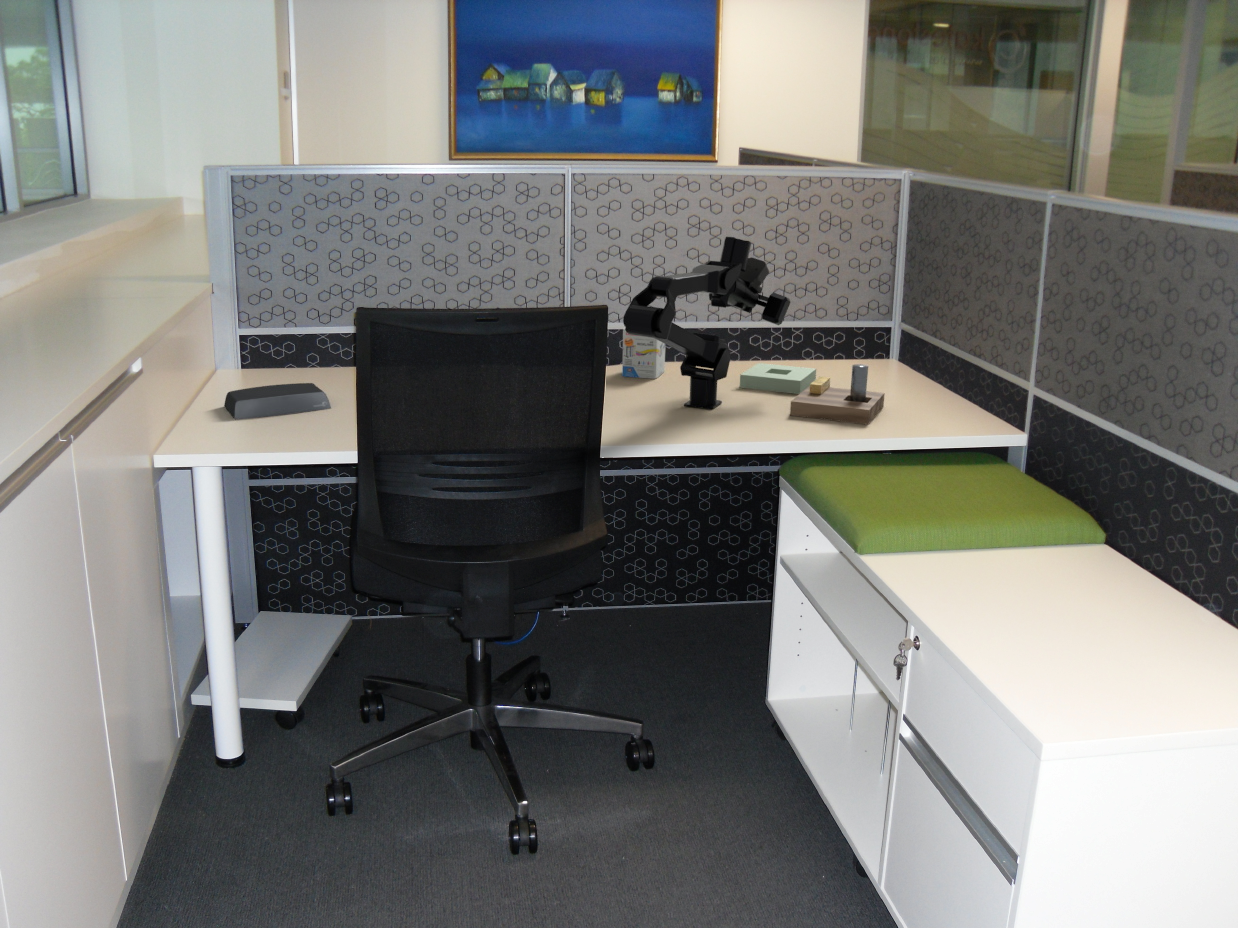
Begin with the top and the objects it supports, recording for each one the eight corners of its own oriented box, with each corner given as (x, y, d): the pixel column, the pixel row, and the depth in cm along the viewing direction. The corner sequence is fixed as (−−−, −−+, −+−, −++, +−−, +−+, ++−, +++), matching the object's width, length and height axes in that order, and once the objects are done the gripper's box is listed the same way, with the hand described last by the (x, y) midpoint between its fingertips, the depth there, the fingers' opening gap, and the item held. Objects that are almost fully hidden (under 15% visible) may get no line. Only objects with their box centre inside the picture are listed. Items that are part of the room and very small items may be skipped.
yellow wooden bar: (820, 394, 222) (821, 385, 222) (809, 393, 223) (810, 384, 223) (829, 386, 229) (830, 377, 229) (818, 385, 230) (819, 376, 230)
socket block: (868, 424, 212) (869, 410, 211) (790, 415, 218) (790, 401, 217) (883, 406, 226) (884, 392, 225) (809, 398, 232) (810, 385, 231)
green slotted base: (799, 394, 236) (800, 380, 235) (739, 387, 241) (740, 374, 240) (815, 381, 248) (816, 368, 247) (757, 375, 253) (758, 363, 252)
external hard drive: (332, 411, 219) (331, 392, 218) (235, 422, 210) (233, 402, 209) (317, 397, 230) (315, 379, 229) (223, 408, 221) (221, 389, 220)
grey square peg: (862, 415, 218) (866, 368, 215) (847, 414, 219) (850, 366, 216) (865, 412, 221) (869, 365, 218) (850, 410, 222) (854, 363, 219)
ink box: (621, 376, 251) (621, 327, 247) (631, 369, 258) (631, 321, 255) (656, 379, 248) (657, 329, 245) (665, 372, 256) (666, 323, 253)
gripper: (785, 267, 221) (813, 286, 234) (713, 244, 231) (744, 263, 244) (764, 317, 223) (794, 333, 236) (693, 292, 233) (725, 309, 246)
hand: (764, 308), depth 240 cm, fingers open, 9 cm apart
